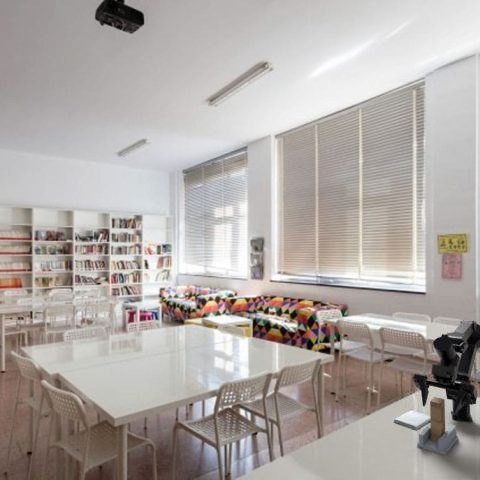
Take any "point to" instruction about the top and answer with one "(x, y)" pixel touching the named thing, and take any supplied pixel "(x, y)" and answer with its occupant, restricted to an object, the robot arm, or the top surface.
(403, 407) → the top surface
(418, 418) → the hard drive
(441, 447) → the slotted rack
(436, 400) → the brown wooden block
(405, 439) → the top surface
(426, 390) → the robot arm
